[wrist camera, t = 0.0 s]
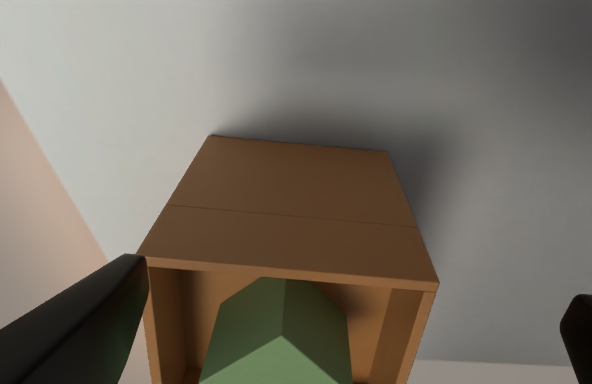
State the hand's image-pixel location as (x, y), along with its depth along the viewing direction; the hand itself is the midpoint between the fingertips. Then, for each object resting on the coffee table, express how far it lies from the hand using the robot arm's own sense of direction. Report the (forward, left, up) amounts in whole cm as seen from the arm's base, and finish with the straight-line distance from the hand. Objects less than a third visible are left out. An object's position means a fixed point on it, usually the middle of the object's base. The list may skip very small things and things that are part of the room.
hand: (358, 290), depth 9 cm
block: (-7, +1, -6) cm, 9 cm away
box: (-7, +1, -13) cm, 15 cm away
